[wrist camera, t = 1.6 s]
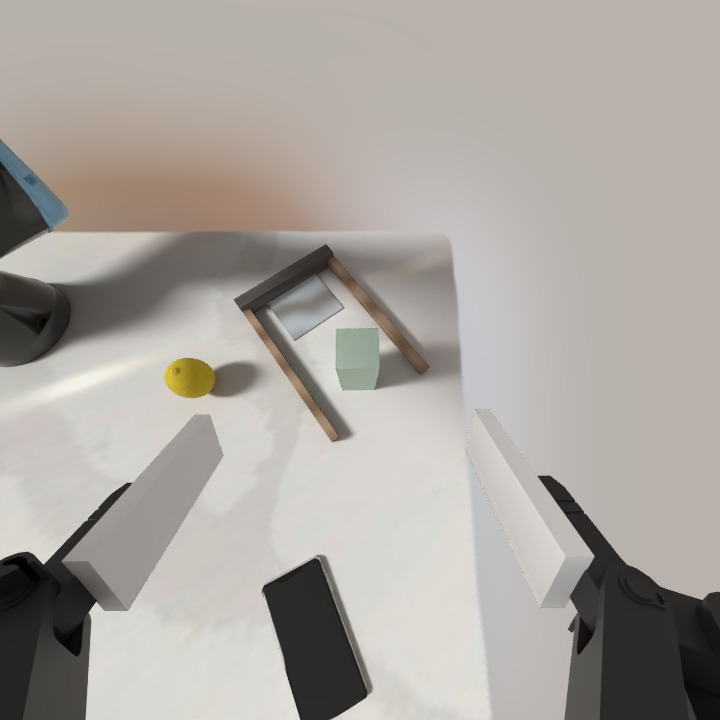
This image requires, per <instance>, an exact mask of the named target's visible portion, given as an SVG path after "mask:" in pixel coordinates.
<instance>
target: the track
mask: <svg viewBox="0 0 720 720" xmlns="http://www.w3.org/2000/svg"><path fill="white" fill-rule="evenodd" d="M327 267H330V268H331V269H332V271H333V272H334V273H335V274H336V275H337V276H338V278H339V279H340V280H341V281H342V282H343V284H344V285H345V286H346V287H347V288H348V289H349V291H350V292H351V293H352V294H353V295H354V297H355V298H356V299H357V300H358V301H359V302H360V304H361V305H362V306H363V307H364V308H365V310H366V311H367V312H368V313H369V314H370V316H371V317H372V318H373V319H374V320H375V321H376V323H377V324H378V325H379V326H380V327H381V329H382V330H383V331H384V332H385V333H386V334H387V336H388V337H389V338H390V339H391V340H392V342H393V343H394V344H395V345H396V346H397V347H398V349H399V350H400V351H401V352H402V353H403V355H404V356H405V357H406V358H407V359H408V360H409V362H410V363H411V364H412V365H413V366H414V368H415V369H416V370H417V371H418V372H419V373H420V375H421V374H423V373H424V372H425V371H426V370H427V369H428V368H429V366H428V365H427V363H426V362H425V361H424V360H423V359H422V358H421V357H420V355H419V354H418V353H417V352H416V351H415V350H414V348H413V347H412V346H411V345H410V344H409V343H408V342H407V340H406V339H405V338H404V337H403V336H402V335H401V333H400V332H399V331H398V330H397V329H396V328H395V326H394V325H393V324H392V323H391V322H390V321H389V320H388V318H387V317H386V316H385V315H384V314H383V313H382V311H381V310H380V309H379V308H378V307H377V306H376V305H375V303H374V302H373V301H372V300H371V299H370V298H369V296H368V295H367V294H366V293H365V292H364V291H363V289H362V288H361V287H360V286H359V285H358V284H357V283H356V281H355V280H354V279H353V278H352V277H351V276H350V274H349V273H348V272H347V271H346V270H345V269H344V267H343V266H342V265H341V264H340V263H339V262H338V261H337V259H336V258H335V257H334V256H333V251H332V250H331V249H330V248H329V247H328V246H327V245H324V246H322V247H321V248H319V249H317V250H316V251H314V252H312V253H311V254H309V255H307V256H306V257H304V258H302V259H301V260H299V261H297V262H296V263H294V264H292V265H291V266H289V267H287V268H286V269H284V270H282V271H280V272H279V273H277V274H275V275H274V276H272V277H270V278H269V279H267V280H265V281H264V282H262V283H260V284H259V285H257V286H255V287H254V288H252V289H250V290H249V291H247V292H245V293H244V294H242V295H240V296H239V297H237V298H235V299H234V301H235V302H236V304H237V305H238V307H239V308H240V309H241V311H242V312H243V313H244V315H245V316H246V318H247V319H248V320H249V322H250V323H251V325H252V326H253V328H254V329H255V331H256V332H257V334H258V335H259V337H260V338H261V339H262V341H263V342H264V344H265V345H266V347H267V348H268V350H269V351H270V353H271V354H272V355H273V357H274V358H275V360H276V361H277V363H278V364H279V366H280V367H281V369H282V370H283V372H284V373H285V374H286V376H287V377H288V379H289V380H290V382H291V383H292V385H293V386H294V388H295V389H296V390H297V392H298V393H299V395H300V396H301V398H302V399H303V401H304V402H305V404H306V405H307V407H308V408H309V409H310V411H311V412H312V414H313V415H314V417H315V418H316V420H317V421H318V423H319V424H320V425H321V427H322V428H323V430H324V431H325V433H326V434H327V436H328V437H329V439H330V440H331V441H332V442H334V441H335V440H336V439H338V438H339V435H338V434H337V432H336V431H335V429H334V428H333V427H332V425H331V424H330V422H329V421H328V419H327V418H326V417H325V415H324V414H323V412H322V411H321V409H320V408H319V407H318V405H317V404H316V402H315V401H314V399H313V398H312V397H311V395H310V394H309V392H308V391H307V389H306V388H305V387H304V385H303V384H302V382H301V381H300V379H299V378H298V376H297V375H296V374H295V372H294V371H293V369H292V368H291V366H290V365H289V364H288V362H287V361H286V359H285V358H284V356H283V355H282V354H281V352H280V351H279V349H278V348H277V346H276V345H275V344H274V342H273V341H272V339H271V338H270V336H269V335H268V334H267V332H266V331H265V329H264V328H263V326H262V325H261V324H260V322H259V321H258V319H257V318H256V316H255V315H254V312H256V311H258V310H259V309H261V308H263V307H264V306H266V305H267V304H268V305H269V306H270V308H271V309H272V311H273V312H274V313H275V315H276V316H277V317H278V319H279V320H280V322H281V323H282V324H283V326H284V327H285V328H286V330H287V331H288V333H289V334H290V335H291V337H292V338H293V339H294V340H296V339H298V338H299V337H301V336H302V335H304V334H305V333H307V332H308V331H310V330H311V329H313V328H314V327H316V326H317V325H319V324H320V323H322V322H323V321H325V320H326V319H328V318H329V317H331V316H332V315H334V314H335V313H337V312H338V311H340V310H341V309H343V307H342V306H341V304H340V303H339V302H338V301H337V299H336V298H335V297H334V296H333V295H332V293H331V292H330V291H329V290H328V288H327V287H326V286H325V285H324V284H323V282H322V281H321V280H320V279H319V277H318V276H317V275H316V274H318V273H319V272H321V271H322V270H324V269H326V268H327Z"/></svg>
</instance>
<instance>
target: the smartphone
mask: <svg viewBox="0 0 720 720" xmlns="http://www.w3.org/2000/svg"><path fill="white" fill-rule="evenodd" d="M333 593H334V591H333V588H332V585H331V582H330V580H329V577H328V574H327V572H325V569H324V567H323V564H322V561H321V558H320V557H318V556H314V557H312V558H310V559H308V560H306V561H305V562H303V563H301V564H299V565H297V566H295V567H294V568H292V569H290V570H288V571H286V572H284V573H283V574H281V575H279V576H277V577H275V578H273V579H272V580H270V581H268V582H266V583H265V585H264V586H263V589H262V594H263V598H264V601H265V604H266V609H267V613H268V616H269V619H270V623H271V626H272V629H273V633H274V634H275V637H276V641H277V644H278V647H279V651H280V654H281V657H282V661H283V664H284V667H285V670H286V674H287V677H288V680H289V684H290V687H291V690H292V694H293V697H294V700H295V704H296V707H297V710H298V713H299V717H300V720H332V719H334V718H335V717H337V716H338V715H340V714H342V713H343V712H345V711H346V710H348V709H349V708H351V707H353V706H354V705H356V704H357V703H359V702H360V701H362V700H363V699H365V698H366V697H367V685H366V682H365V679H364V676H363V674H362V671H361V668H360V665H359V663H358V660H357V657H356V654H355V652H354V649H353V646H352V643H351V641H350V638H349V635H348V632H347V630H346V627H345V624H344V621H343V619H342V616H341V613H340V610H339V608H338V605H337V602H336V599H335V597H334V594H333Z"/></svg>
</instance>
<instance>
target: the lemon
mask: <svg viewBox="0 0 720 720" xmlns="http://www.w3.org/2000/svg"><path fill="white" fill-rule="evenodd" d="M165 382H166V385H167V386H168V388H169V389H170V390H172V391H173V392H174V393H175V394H177V395H180V396H182V397H186V398H197V397H201V396H204V395H206V394H207V393H209V392H210V391H211V389H212V388H213V386H214V384H215V373H214V371H213V370H212V368H211V367H210V366H209V365H208V364H206V363H205V362H203V361H201V360H198V359H193V358H182V359H179V360H176V361H174V362H173V363H172V364H170V365H169V367H168V368H167V370H166V372H165Z"/></svg>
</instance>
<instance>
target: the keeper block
mask: <svg viewBox="0 0 720 720" xmlns="http://www.w3.org/2000/svg"><path fill="white" fill-rule="evenodd" d="M379 369H380V364H379V338H378V328H359V329H336V372H337V375H338V378H339V381H340V384H341V387H342V390H375V386H376V381H377V377H378V373H379Z"/></svg>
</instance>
